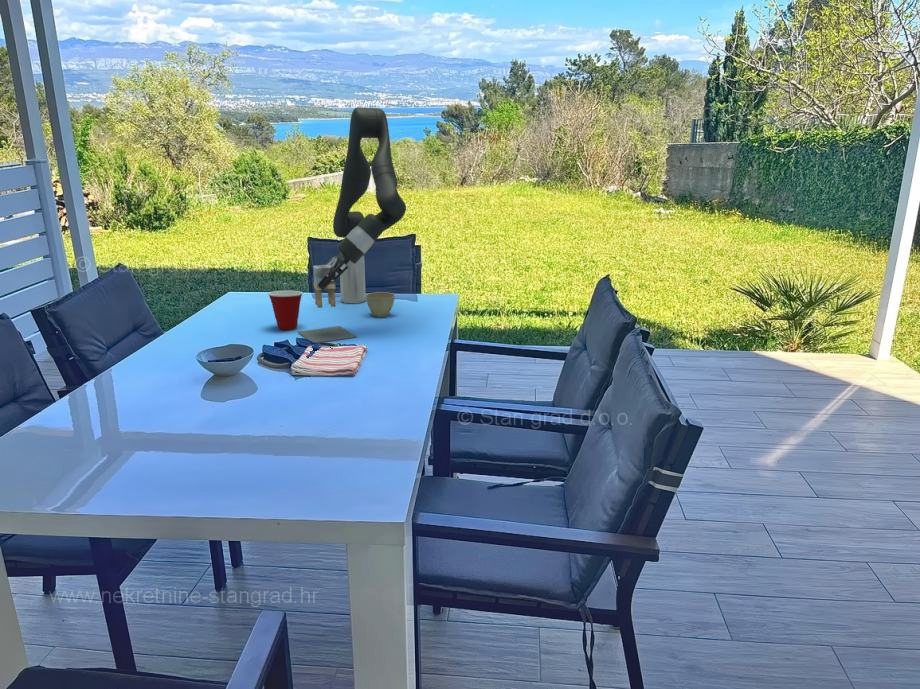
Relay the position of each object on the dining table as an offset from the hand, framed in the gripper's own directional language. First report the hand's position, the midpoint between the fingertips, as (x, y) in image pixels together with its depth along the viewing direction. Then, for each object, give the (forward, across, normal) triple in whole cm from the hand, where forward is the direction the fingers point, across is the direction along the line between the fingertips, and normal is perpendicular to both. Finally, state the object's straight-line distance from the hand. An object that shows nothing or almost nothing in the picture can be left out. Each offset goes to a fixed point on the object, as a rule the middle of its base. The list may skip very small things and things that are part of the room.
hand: (318, 285), depth 203 cm
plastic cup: (+17, -12, +5) cm, 22 cm away
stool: (+3, 0, +6) cm, 7 cm away
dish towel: (+13, +27, +10) cm, 32 cm away
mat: (+10, 0, +12) cm, 16 cm away
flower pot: (-5, -19, +28) cm, 34 cm away
